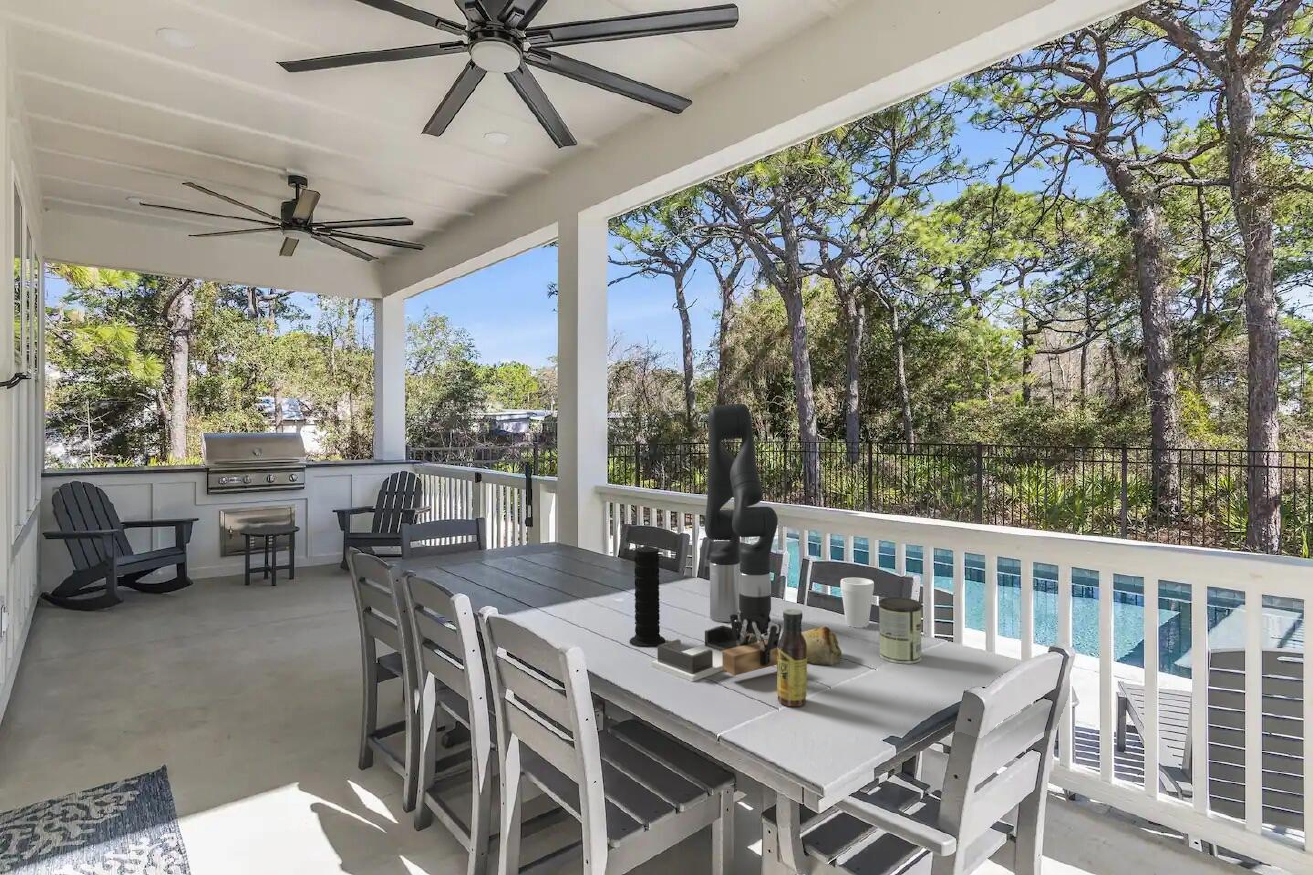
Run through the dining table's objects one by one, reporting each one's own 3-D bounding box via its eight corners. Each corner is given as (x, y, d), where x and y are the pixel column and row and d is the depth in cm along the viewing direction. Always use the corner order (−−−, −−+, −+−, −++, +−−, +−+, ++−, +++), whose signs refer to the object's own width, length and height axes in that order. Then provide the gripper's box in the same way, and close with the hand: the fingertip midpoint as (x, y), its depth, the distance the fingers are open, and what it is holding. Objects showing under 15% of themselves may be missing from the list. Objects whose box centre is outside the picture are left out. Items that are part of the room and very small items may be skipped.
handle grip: (625, 646, 185) (661, 648, 183) (624, 548, 184) (661, 549, 182) (634, 634, 195) (668, 636, 193) (633, 542, 194) (667, 543, 192)
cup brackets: (722, 639, 186) (722, 625, 186) (757, 650, 177) (757, 635, 177) (657, 661, 170) (657, 645, 169) (692, 674, 161) (692, 657, 161)
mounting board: (722, 642, 187) (722, 638, 187) (763, 655, 177) (763, 650, 177) (651, 666, 170) (651, 661, 170) (692, 681, 159) (692, 676, 159)
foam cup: (862, 631, 196) (862, 586, 196) (834, 624, 203) (834, 581, 202) (880, 625, 202) (880, 581, 202) (852, 618, 209) (852, 576, 209)
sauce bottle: (773, 697, 150) (773, 606, 150) (801, 695, 151) (801, 605, 150) (781, 709, 144) (781, 615, 143) (811, 708, 144) (810, 614, 144)
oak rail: (775, 656, 169) (775, 638, 168) (787, 661, 165) (787, 643, 165) (722, 669, 160) (722, 650, 160) (734, 675, 157) (734, 656, 156)
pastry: (851, 664, 170) (851, 632, 170) (803, 668, 168) (803, 636, 167) (826, 646, 184) (826, 617, 184) (782, 650, 181) (782, 619, 181)
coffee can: (879, 648, 181) (879, 595, 181) (920, 652, 178) (920, 598, 178) (878, 661, 172) (878, 605, 171) (922, 666, 168) (922, 609, 168)
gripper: (789, 593, 159) (789, 666, 160) (741, 582, 170) (742, 650, 170) (769, 600, 154) (769, 674, 155) (721, 588, 165) (721, 658, 165)
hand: (755, 661), depth 163 cm, fingers closed on oak rail, 5 cm apart
